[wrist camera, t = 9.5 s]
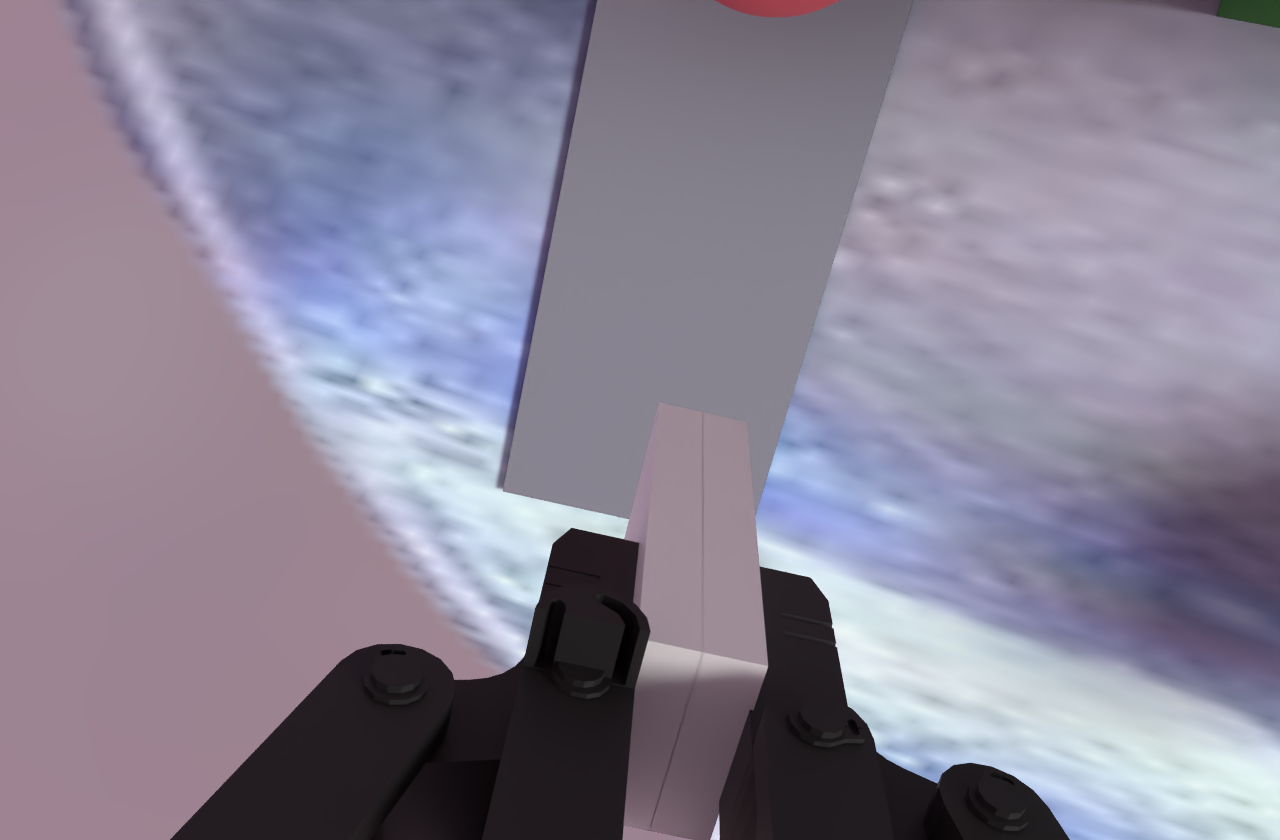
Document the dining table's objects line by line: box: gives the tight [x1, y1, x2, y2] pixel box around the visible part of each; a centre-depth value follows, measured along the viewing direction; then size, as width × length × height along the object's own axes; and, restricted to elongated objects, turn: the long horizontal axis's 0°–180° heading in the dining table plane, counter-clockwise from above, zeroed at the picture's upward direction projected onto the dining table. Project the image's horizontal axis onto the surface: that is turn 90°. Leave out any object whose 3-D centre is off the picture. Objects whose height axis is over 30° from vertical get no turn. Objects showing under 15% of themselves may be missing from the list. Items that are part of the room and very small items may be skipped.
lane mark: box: [503, 0, 913, 519], centre depth 29 cm, size 28×8×1 cm, turn 168°
